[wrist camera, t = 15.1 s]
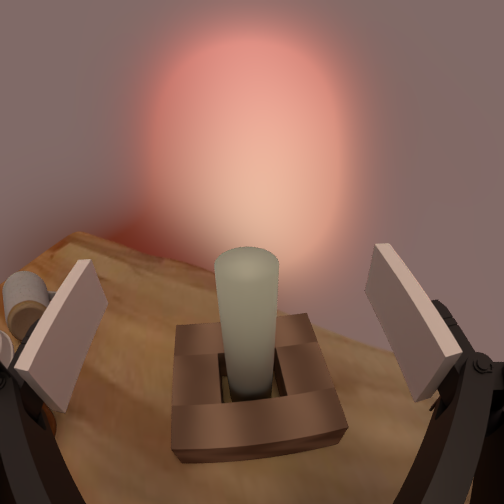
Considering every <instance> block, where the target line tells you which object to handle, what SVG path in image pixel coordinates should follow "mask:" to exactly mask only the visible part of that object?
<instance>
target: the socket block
mask: <svg viewBox="0 0 504 504" xmlns="http://www.w3.org/2000/svg"><path fill="white" fill-rule="evenodd" d="M273 371H274V372H275V376H276V381H277V385H278V390H279V394H280V397H276V398H269V399H261V400H252V401H243V402H232V403H224V402H223V391H222V379H221V376H228V375H227V368H226V360H225V353H224V345H223V338H222V330H221V322H217V323H204V324H189V325H176V337H175V351H174V368H173V389H172V422H171V450H172V451H173V452H174V454H175V455H176V456H177V457H178V459H179V460H180V461H181V463H213V462H229V461H241V460H251V459H259V458H267V457H274V456H281V455H287V454H293V453H298V452H303V451H308V450H313V449H318V448H322V447H326V446H331V445H335V444H338V443H339V441H340V440H341V438H342V437H343V435H344V434H345V432H346V430H347V429H348V424H347V421H346V418H345V415H344V412H343V409H342V407H341V404H340V401H339V398H338V395H337V393H336V390H335V387H334V384H333V382H332V379H331V376H330V373H329V371H328V368H327V365H326V363H325V360H324V357H323V355H322V352H321V349H320V347H319V344H318V341H317V339H316V336H315V333H314V331H313V328H312V325H311V323H310V320H309V318H308V315H307V313H303V314H296V315H287V316H278V317H276V333H275V349H274V365H273Z"/></svg>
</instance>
